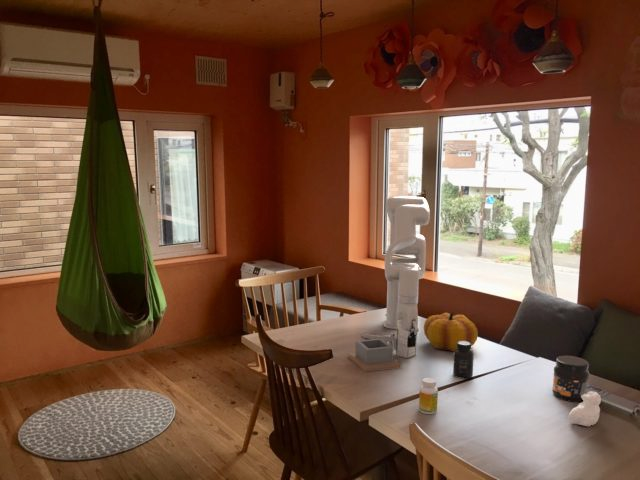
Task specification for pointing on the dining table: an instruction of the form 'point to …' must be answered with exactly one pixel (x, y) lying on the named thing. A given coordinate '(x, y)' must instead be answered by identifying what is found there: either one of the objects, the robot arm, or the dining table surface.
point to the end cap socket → (374, 355)
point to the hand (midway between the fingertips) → (406, 343)
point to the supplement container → (570, 378)
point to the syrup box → (403, 342)
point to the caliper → (383, 338)
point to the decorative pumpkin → (449, 330)
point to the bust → (586, 410)
